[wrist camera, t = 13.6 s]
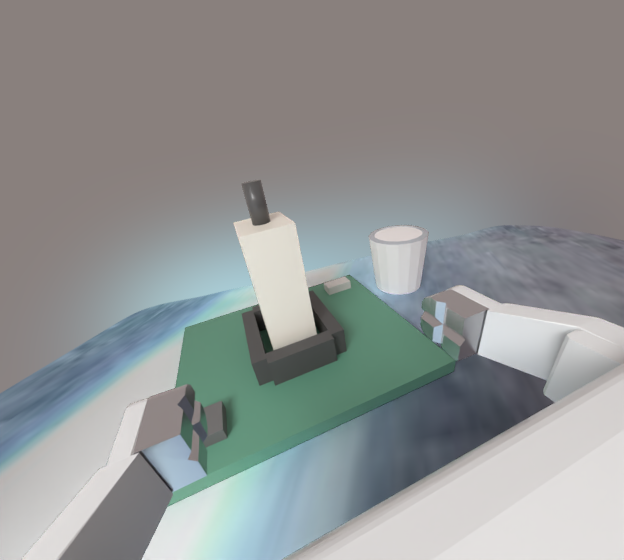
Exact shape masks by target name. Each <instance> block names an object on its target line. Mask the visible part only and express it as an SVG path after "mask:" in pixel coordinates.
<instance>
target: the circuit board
mask: <svg viewBox="0 0 624 560" xmlns="http://www.w3.org/2000/svg"><path fill="white" fill-rule="evenodd" d="M308 291H309V296H310V301H311V307H312V312H313V317H314V322H315V327H316V332H317V335H314V336H311V337H309V338H306V339H303V340H301V341H298V342H295V343H292V344H290V345H287V346H284V347H282V348H279V349H276V350H274V351H273V348H272V345H271V342H270V339H269V336H268V333H267V330H266V326H265V323H264V320H263V317H262V313H261V310H260V307H259V304H257V305H254V306H251V307H248V308H245V309H242V310H239V311H236V312H233V313H230V314H226V315H223V316H220V317H217V318H214V319H211V320H208V321H205V322H202V323H199V324H195V325H192V326H189V327H186V328H185V332H184V338H183V344H182V350H181V357H180V363H179V369H178V375H177V381H176V387H175V388H177V387H180V386H183V385H186V384H190V385H191V386H192V388H193V390H194V391H195V401H198V402H201V404H202V406H203V408H204V411H205V414H206V419H207V425H208V435H207V437H206V439H205V441H204V442H203V444H204V445H205V447H206V449H207V476H205V477H203V478H201V479H199V480H197V481H195V482H193V483H191V484H189V485H187V486H185V487H183V488H180V489H178V490H176V491H174V492H172V493H173V496H172V498H171V500H170V502H169V504H168V506H170V505H172V504H174V503H176V502H178V501H180V500H183V499H185V498H187V497H189V496H191V495H193V494H195V493H197V492H199V491H202V490H204V489H206V488H208V487H210V486H212V485H214V484H216V483H218V482H221V481H223V480H225V479H227V478H229V477H231V476H233V475H235V474H237V473H240V472H242V471H244V470H246V469H248V468H250V467H252V466H254V465H257V464H259V463H261V462H263V461H265V460H267V459H269V458H271V457H273V456H276V455H278V454H280V453H282V452H284V451H286V450H288V449H290V448H292V447H295V446H297V445H299V444H301V443H303V442H305V441H307V440H309V439H311V438H314V437H316V436H318V435H320V434H322V433H324V432H326V431H328V430H331V429H333V428H335V427H337V426H339V425H341V424H343V423H345V422H347V421H350V420H352V419H354V418H356V417H358V416H360V415H362V414H364V413H366V412H369V411H371V410H373V409H375V408H377V407H379V406H381V405H383V404H386V403H388V402H390V401H392V400H394V399H396V398H398V397H400V396H402V395H405V394H407V393H409V392H411V391H413V390H415V389H417V388H419V387H421V386H424V385H426V384H428V383H430V382H432V381H434V380H436V379H438V378H440V377H443V376H445V375H447V374H449V373H451V372H453V371H454V368H455V361H456V360H455V359H453V358H452V357H451V356H450V355H448V354H447V353H446V352H445V351H443V350H442V349H441V348H440V347H438V346H437V345H436V344H435V343H433V342H432V341H431V340H430V339H429V338H427V337H426V336H425V335H424V334H422V333H421V332H420V331H419V330H417V329H416V328H415V327H414V326H412V325H411V324H410V323H409V322H407V321H406V320H405V319H404V318H402V317H401V316H400V315H399V314H397V313H396V312H395V311H394V310H393V309H391V308H390V307H389V306H388V305H386V304H385V303H384V302H383V301H381V300H380V299H379V298H378V297H376V296H375V295H374V294H373V293H371V292H370V291H369V290H368V289H366V288H365V287H364V286H363V285H361V284H360V283H359V282H358V281H357V280H355V279H354V278H353V277H352V276H350V275H347V276H344V277H341V278H338V279H335V280H331V281H328V282H325V283H323V284H319V285H316V286H313V287H310V288H308ZM168 506H167V507H168Z"/></svg>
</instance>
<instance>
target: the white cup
mask: <svg viewBox="0 0 624 560" xmlns="http://www.w3.org/2000/svg"><path fill="white" fill-rule="evenodd" d="M428 234H429V232H428V231H427V230H426V229H424V228H421V227H418V226H411V225H397V226H389V227H384V228H380V229H377V230H375V231H373V232H372V233H371V234H370V235H369V241H370V247H371V254H372V261H373V267H374V274H375V280H376V285H377V288H378V289H380V290H381V291H383V292H385V293H388V294H396V295H401V294H409V293H412V292H415V291H416V290H417V289H419V288H420V284H421V278H422V272H423V266H424V259H425V253H426V247H427V241H428Z"/></svg>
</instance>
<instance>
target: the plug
mask: <svg viewBox="0 0 624 560" xmlns="http://www.w3.org/2000/svg"><path fill="white" fill-rule="evenodd" d="M242 188H243V192H244V195H245V199H246V202H247V206H248V210H249V213H250V217H251V218H250V219H246V220H242V221H238V222H234V226H235V230H236V233H237V236H238V239H239V242H240V246H241V249H242V252H243V255H244V259H245V262H246V265H247V268H248V272H249V275H250V278H251V281H252V284H253V288H254V291H255V294H256V297H257V301H258V304H259V307H260V310H261V313H262V317H263V320H264V323H265V326H266V330H267V333H268V336H269V339H270V342H271V345H272V348H273V351H274V350H276V349H279V348H282V347H284V346H287V345H290V344H292V343H295V342H298V341H301V340H303V339H306V338H309V337H311V336H314V335H317V332H316V327H315V322H314V317H313V312H312V307H311V301H310V296H309V291H308V286H307V281H306V276H305V271H304V266H303V260H302V255H301V250H300V245H299V240H298V235H297V230H296V224H295V223H294V222H293V221H292V220H290V219H289V218H287V217H286V216H285V215H283V214H282V213H280V212H275V213H271V214H269V212H268V208H267V204H266V200H265V196H264V192H263V188H262V183H261V180H254V181H249V182H245V183H242Z"/></svg>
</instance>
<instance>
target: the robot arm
mask: <svg viewBox="0 0 624 560" xmlns="http://www.w3.org/2000/svg"><path fill="white" fill-rule="evenodd" d="M422 309H423V310H424V311H425V312H424V313H423V315H422V317H421V327H422V330H423V332H424V333H425V335H426V336H427V337H428V338H429V339H430V340H432V341H433V342H437V343H440V344H441V347H442V349H443V350H444V351H445V352H446V353H448V354H449V355H450V356H451V357H453V358H454V359H455V360H456V361H460V360H462V359H465V358H467V357H469V356H472V355H474V354H477V353H478V355H481V356H483V357H486V358H488V359H491V360H494V361H496V362H499V363H502V364H504V365H507V366H510V367H512V368H515V369H518V370H520V371H523V372H525V373H528V374H531V375H533V376H536V377H539V378H541V379H544V380H547V382H546V384H545V387H544V389H543V392H544V395H545V396H546V397H548V398H549V399H551V400H552V401H553V402H555V403H553V404H551V405H550V406H548V407H546V408H544V409H543V410H541V411H539V412H537V413H536V414H534V415H532V416H530V417H529V418H527V419H525V420H523V421H522V422H520V423H518V424H517V425H515V426H513V427H511V428H510V429H508V430H506V431H504V432H503V433H501V434H499V435H497V436H496V437H494V438H492V439H490V440H489V441H487V442H485V443H483V444H482V445H480V446H478V447H476V448H475V449H473V450H471V451H469V452H468V453H466V454H464V455H463V456H461V457H459V458H457V459H456V460H454V461H452V462H450V463H449V464H447V465H445V466H443V467H442V468H440V469H438V470H436V471H435V472H433V473H431V474H429V475H428V476H426V477H424V478H422V479H421V480H419V481H417V482H416V483H414V484H412V485H410V486H409V487H407V488H405V489H403V490H402V491H400V492H398V493H396V494H395V495H393V496H391V497H389V498H388V499H386V500H384V501H382V502H381V503H379V504H377V505H375V506H374V507H372V508H370V509H368V510H367V511H365V512H363V513H362V514H360V515H358V516H356V517H355V518H353V519H351V520H349V521H348V522H346V523H344V524H342V525H341V526H339V527H337V528H335V529H334V530H332V531H330V532H328V533H327V534H325V535H323V536H322V537H320V538H318V539H316V540H315V541H313V542H311V543H309V544H308V545H306V546H304V547H302V548H301V549H299V550H297V551H295V552H294V553H292V554H290V555H288V556H287V557H285V558H283V559H282V560H624V328H623V327H621V326H618V325H616V324H613V323H611V322H608V321H606V320H603V319H601V318H598V317H591V316H585V315H579V314H572V313H566V312H560V311H553V310H547V309H541V308H534V307H528V306H522V305H516V304H509V303H504V304H501V303H499V302H497V301H495V300H493V299H490V298H488V297H486V296H484V295H482V294H480V293H478V292H476V291H474V290H472V289H470V288H468V287H465V286H463V285H457V286H454V287H452V288H449V289H447V290H444V291H442V292H439V293H436V294H434V295H431V296H428V297H426V298H424V300H423V301H422ZM207 435H208V425H207V419H206V414H205V411H204V408H203V406H202V404H201V402H198V401H195V391H194V390H193V388H192V386H191V385H190V384H186V385H183V386H180V387H177V388H174V389H171V390H168V391H165V392H163V393H160V394H157V395H154V396H151V397H149V398H146V399H143V400H140V401H137V402H134V403H131V404H130V405H129V406H128V407H127V408H126V410H125V413H124V415H123V418H122V421H121V424H120V427H119V430H118V433H117V436H116V438H115V441H114V444H113V447H112V450H111V453H110V456H109V458H108V461H107V464H106V466H105V467H102V468H100V469H98V470H97V472H96V473H95V474H94V475H93V476H92V477H91V479H90V480H89V481H88V482H87V483H86V484H85V486H84V487H83V488H82V489H81V490H80V491H79V493H78V494H77V495H76V496H75V497H74V498H73V500H72V501H71V502H70V503H69V504H68V505H67V506H66V508H65V509H64V510H63V511H62V512H61V513H60V515H59V516H58V517H57V518H56V519H55V520H54V522H53V523H52V524H51V525H50V526H49V527H48V529H47V530H46V531H45V532H44V533H43V534H42V536H41V537H40V538H39V539H38V540H37V541H36V542H35V544H34V545H33V546H32V547H31V548H30V549H29V551H28V552H27V553H26V554H25V555H24V556H23V558H22V559H21V560H141V559H142V557H143V555H144V553H145V551H146V549H147V547H148V545H149V543H150V541H151V539H152V537H153V535H154V533H155V531H156V529H157V527H158V525H159V523H160V520H161V518H162V516H163V514H164V512H165V510H166V508H167V506H168V504H169V502H170V500H171V498H172V496H173V493H172V492H174V491H176V490H178V489H180V488H183V487H185V486H187V485H189V484H191V483H193V482H195V481H197V480H199V479H201V478H203V477H205V476H207V449H206V447H205V445H204V444H203V442H204V441H205V439H206V437H207Z"/></svg>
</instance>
